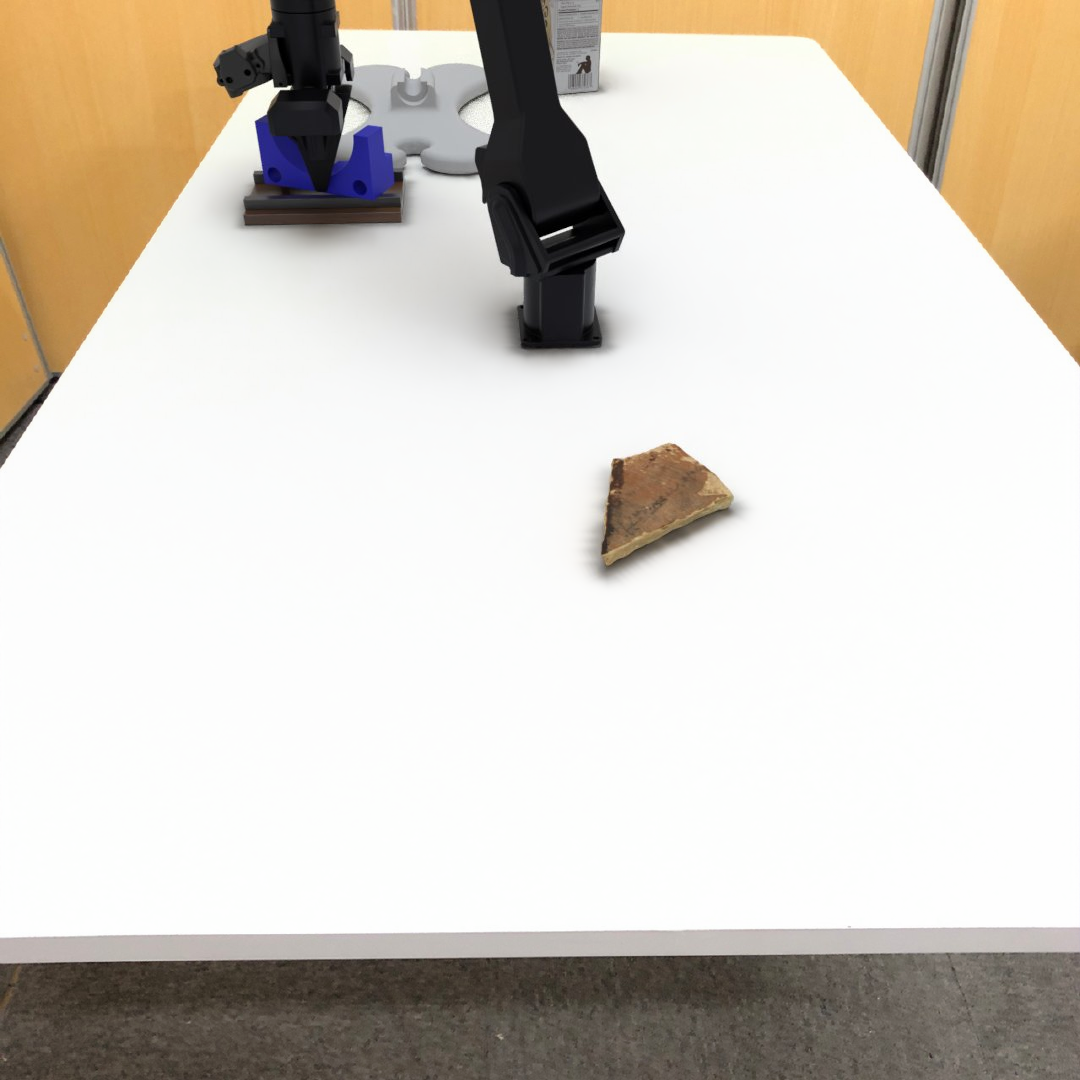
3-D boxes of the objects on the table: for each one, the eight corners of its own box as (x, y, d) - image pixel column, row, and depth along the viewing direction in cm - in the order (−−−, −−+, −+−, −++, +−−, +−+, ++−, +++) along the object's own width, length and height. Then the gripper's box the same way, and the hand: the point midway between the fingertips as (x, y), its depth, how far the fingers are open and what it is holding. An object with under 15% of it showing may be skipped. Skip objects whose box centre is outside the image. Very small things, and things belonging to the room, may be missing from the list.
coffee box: (530, 74, 139) (531, -65, 129) (577, 70, 141) (581, -68, 130) (552, 95, 133) (554, -50, 122) (600, 91, 134) (606, -53, 124)
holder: (490, 77, 138) (489, 36, 135) (504, 175, 112) (503, 127, 109) (342, 80, 137) (338, 38, 134) (322, 179, 111) (316, 131, 108)
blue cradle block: (394, 183, 105) (389, 121, 101) (373, 200, 102) (367, 137, 98) (288, 167, 108) (279, 106, 104) (264, 183, 105) (254, 121, 101)
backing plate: (401, 222, 103) (400, 201, 101) (244, 225, 102) (241, 204, 100) (404, 182, 110) (403, 163, 109) (259, 185, 109) (255, 166, 108)
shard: (600, 573, 63) (601, 551, 62) (529, 508, 68) (529, 485, 67) (736, 511, 68) (739, 489, 67) (661, 454, 73) (663, 432, 72)
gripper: (228, -18, 101) (255, 146, 111) (191, 35, 87) (226, 218, 97) (346, -19, 102) (362, 145, 112) (329, 34, 87) (349, 216, 97)
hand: (324, 178), depth 104 cm, fingers open, 6 cm apart
